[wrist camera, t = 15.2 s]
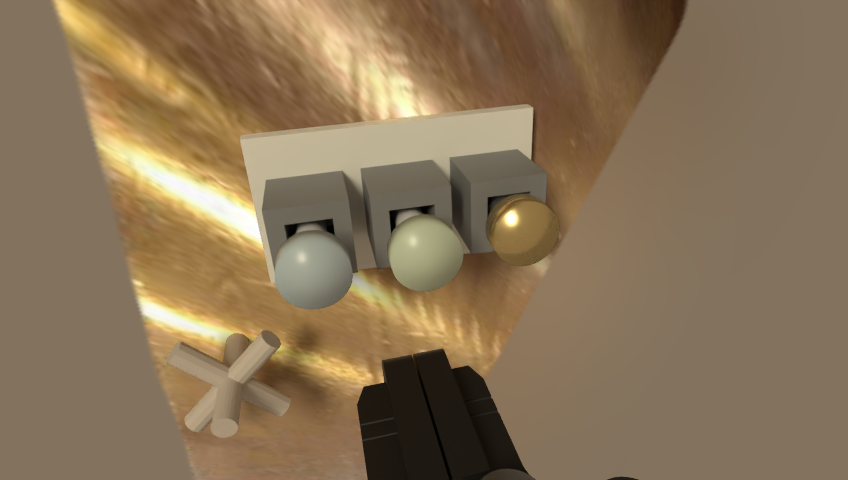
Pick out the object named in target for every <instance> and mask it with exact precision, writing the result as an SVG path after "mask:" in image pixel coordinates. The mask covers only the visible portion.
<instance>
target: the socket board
mask: <svg viewBox="0 0 848 480" xmlns="http://www.w3.org/2000/svg"><path fill="white" fill-rule="evenodd" d="M532 126H533V107H532V106H530V105H528V104H523V105H514V106H505V107H495V108H486V109H477V110H468V111H458V112H449V113H440V114H431V115H421V116H412V117H403V118H394V119H385V120H375V121H366V122H357V123H348V124H338V125H329V126H320V127H311V128H301V129H292V130H283V131H274V132H264V133H255V134H246V135H241V138H240V142H241V147H242V152H243V156H244V161H245V165H246V170H247V175H248V179H249V184H250V188H251V193H252V197H253V202H254V207H255V211H256V216H257V220H258V225H259V230H260V234H261V239H262V243H263V248H264V253H265V257H266V262H267V266H268V271H269V276H270V280H271V283H275V264H276V256H277V253H278V250H279V248H280V247H281V245H282V244H283V243H284V242H285V241H286V240H287V239H288V238H289V237H291V236H293V235H294V234H295V223H303V222H310V221H317V220H325V219H326V225H327V232H328V233H331V234H333V235H335V236H336V237H338V238H339V239H340V240H341V241H342V242H343V243H344V244H345V246H346V248H347V249H348V252H349V256H350V261H351V266H352V272H353V273H356V272H358V270H363V269H369V268H376V267H377V269H382V268H388V267H391V265H390V262H389V259H388V255H387V243H388V239H389V237H390V235H391V233H392V231H393V230H394V229H395V228H396V226H395V223H394V221H393V218H392V216H391V213H390V211H391V210H398V209H405V208H413V207H420V208H421V210H422V212H423V214H429V215H434V216H437V217H440V218H442V219H443V220H445V221H446V222H447V223H448V224H449V225H450V226H451V228H452V229H453V231H454V233H455V234H456V236H457V238H458V239H459V241H460V243H461V245H462V249H463V254H467V253H471V254H472V255H473V254H479V253H486V252H492V251H495V250H494V249H493V247H492V246H491V245H490V243H489V242H488V240H487V237H486V232H485V227H486V221H487V218H488V216H489V214H488V213H487V202H488V197H493V196H500V195H508V194H511V195H515V194H522V193H523V194H530V195H533V196H535V197H537V198H539V199H540V200H541V201H542V202H543V203H544V204H545V205H546V189H547V173H546V172H545V171H544V170H543V169H541V168H540V167H539V166H538V165H536V164H535V163H534V162H533V161H532V160H531V151H532Z"/></svg>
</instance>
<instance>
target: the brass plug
mask: <svg viewBox="0 0 848 480" xmlns="http://www.w3.org/2000/svg"><path fill="white" fill-rule="evenodd" d="M487 213H488V214H489V216H488V218H487V221H486V227H485V232H486V237H487V240H488V242H489V243H490V245H491V246H492V247H493V249H494V250H495V252H496V253H497V255H498V256H499V257H500V258H501V259H502V260H503V261H504V262H506V263H508V264H510V265H513V266H527V265H531V264H534V263H536V262H538V261H540V260H542V259H543V258H544V257H546V256H547V255H548V254H549V253H550V252H551V250H552V249H553V248H554V246H555V244H556V242H557V240H558V236H559V222H558V219H557V217H556V215H555V214H554V212H553V211H552V210H551V209H550V208H549V207H547V206H546V205H545V204H544V203H543V202H542V201H541V200H540V199H539V198H537V197H535V196H533V195H530V194H523V193H522V194H515V195H511V194H508V195H500V196H493V197H488V202H487Z"/></svg>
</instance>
